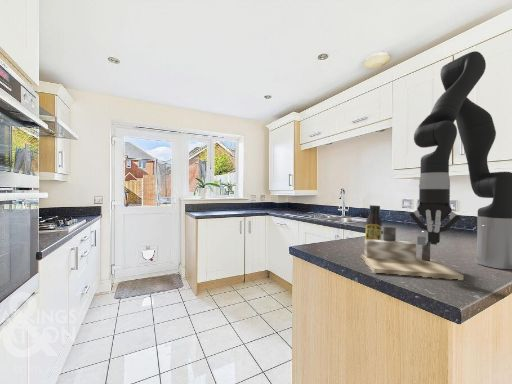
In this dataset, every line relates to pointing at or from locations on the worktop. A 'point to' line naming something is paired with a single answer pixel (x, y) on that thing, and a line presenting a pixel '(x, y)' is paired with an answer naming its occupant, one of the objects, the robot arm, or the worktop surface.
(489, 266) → the robot arm
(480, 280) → the worktop surface
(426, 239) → the latch bar
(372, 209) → the sauce bottle
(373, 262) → the door frame board
